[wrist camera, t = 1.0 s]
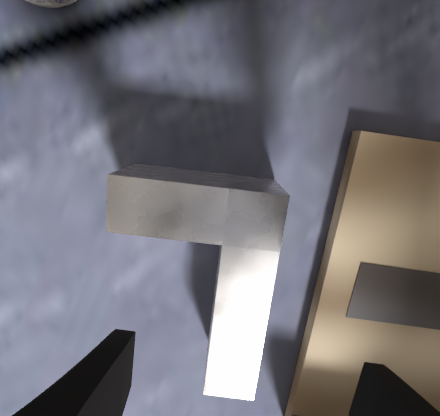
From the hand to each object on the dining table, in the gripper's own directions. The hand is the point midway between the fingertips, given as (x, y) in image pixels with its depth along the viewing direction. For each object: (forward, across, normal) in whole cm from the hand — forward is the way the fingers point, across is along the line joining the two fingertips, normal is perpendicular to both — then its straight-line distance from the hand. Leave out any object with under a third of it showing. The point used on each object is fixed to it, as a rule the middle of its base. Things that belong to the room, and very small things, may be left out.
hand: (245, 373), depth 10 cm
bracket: (+8, +2, 0) cm, 8 cm away
